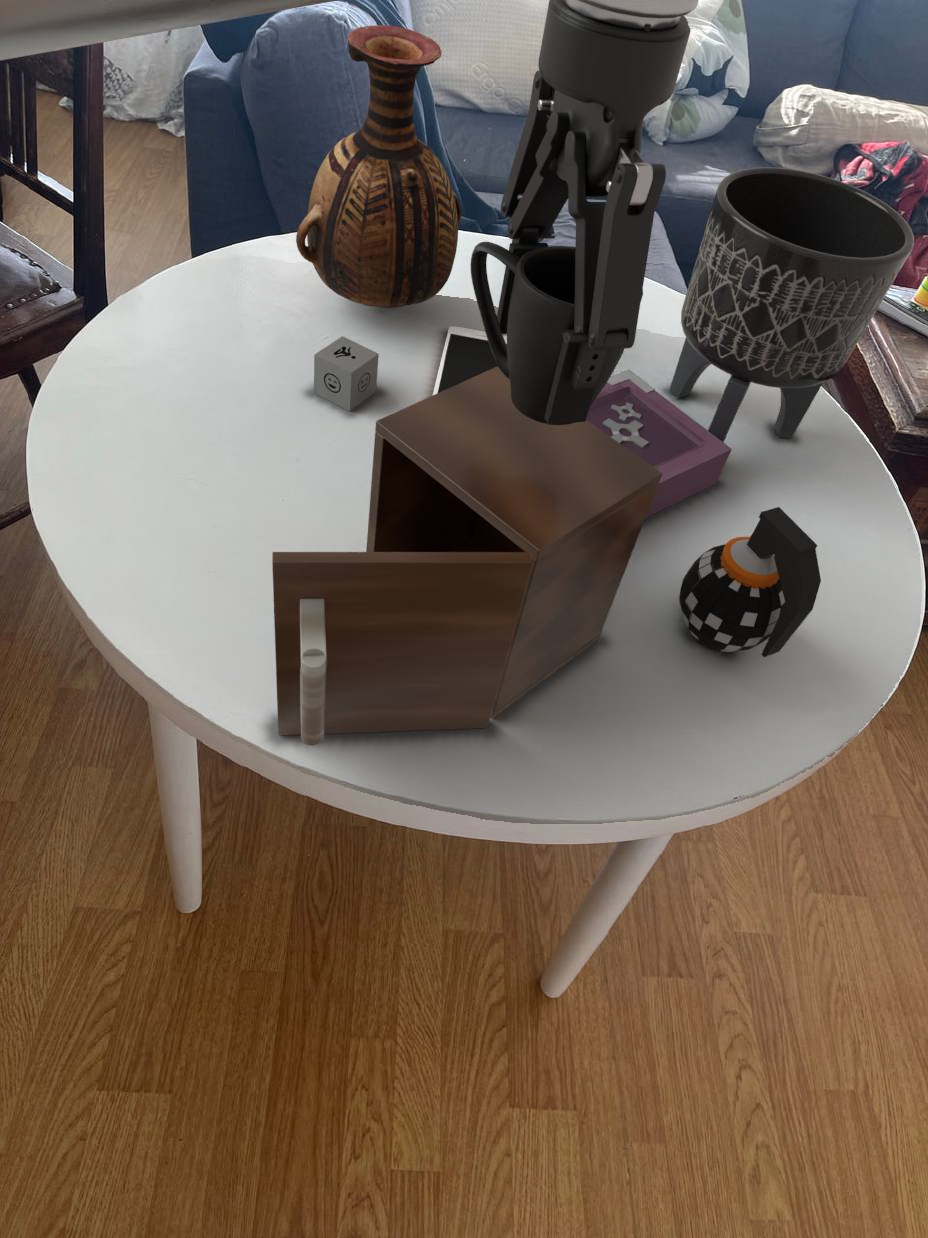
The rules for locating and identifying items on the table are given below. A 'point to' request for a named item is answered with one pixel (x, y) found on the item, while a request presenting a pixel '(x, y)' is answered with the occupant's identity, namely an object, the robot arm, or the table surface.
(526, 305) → the mug
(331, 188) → the vase
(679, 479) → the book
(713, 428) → the planter
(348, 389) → the dice cube
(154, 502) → the table surface
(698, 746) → the table surface
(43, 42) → the robot arm
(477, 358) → the cell phone
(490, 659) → the cupboard door
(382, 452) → the cupboard
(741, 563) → the grenade
